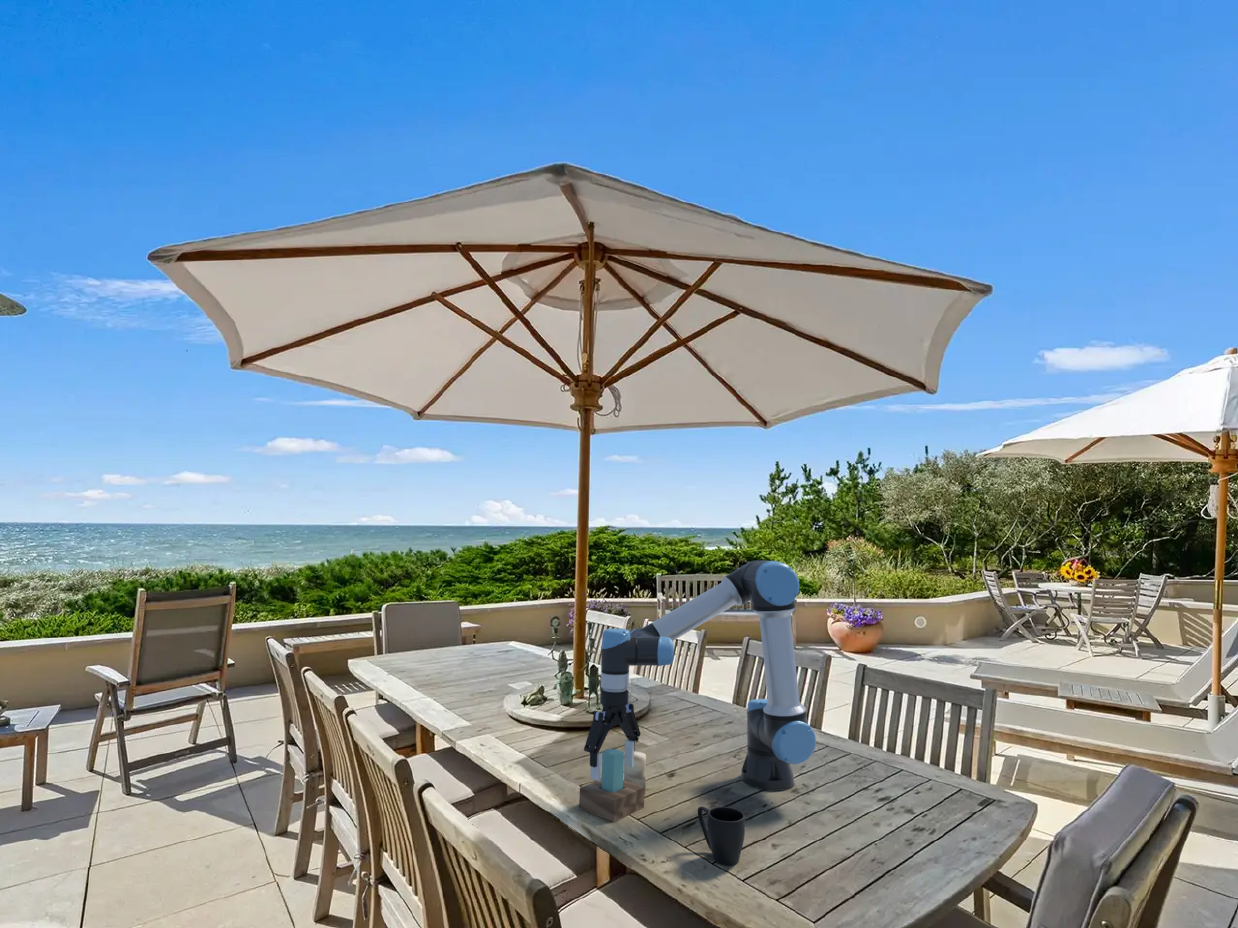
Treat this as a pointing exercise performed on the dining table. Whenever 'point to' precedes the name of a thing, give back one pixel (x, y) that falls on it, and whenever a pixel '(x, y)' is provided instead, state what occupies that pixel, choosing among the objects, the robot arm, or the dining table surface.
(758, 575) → the robot arm
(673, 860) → the dining table surface
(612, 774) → the square bit
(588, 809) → the socket block
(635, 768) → the round dowel
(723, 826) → the mug
